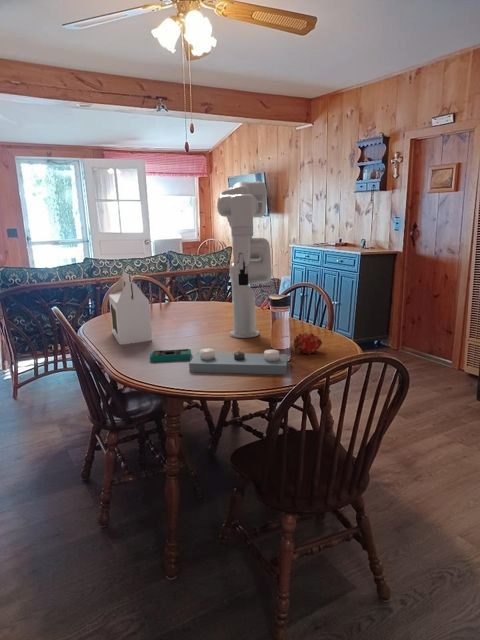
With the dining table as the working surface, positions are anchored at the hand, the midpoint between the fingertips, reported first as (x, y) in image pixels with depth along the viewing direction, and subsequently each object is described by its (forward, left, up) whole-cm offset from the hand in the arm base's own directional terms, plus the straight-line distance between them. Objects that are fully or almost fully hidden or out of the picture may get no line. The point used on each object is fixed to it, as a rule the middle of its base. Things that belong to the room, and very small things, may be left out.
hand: (243, 284), depth 160 cm
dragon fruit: (-6, +23, -27) cm, 36 cm away
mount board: (+12, 0, -26) cm, 29 cm away
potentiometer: (+12, 0, -23) cm, 26 cm away
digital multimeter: (+4, -27, -27) cm, 38 cm away
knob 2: (+12, +11, -26) cm, 31 cm away
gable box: (-24, -53, -27) cm, 64 cm away
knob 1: (+12, -11, -26) cm, 31 cm away
